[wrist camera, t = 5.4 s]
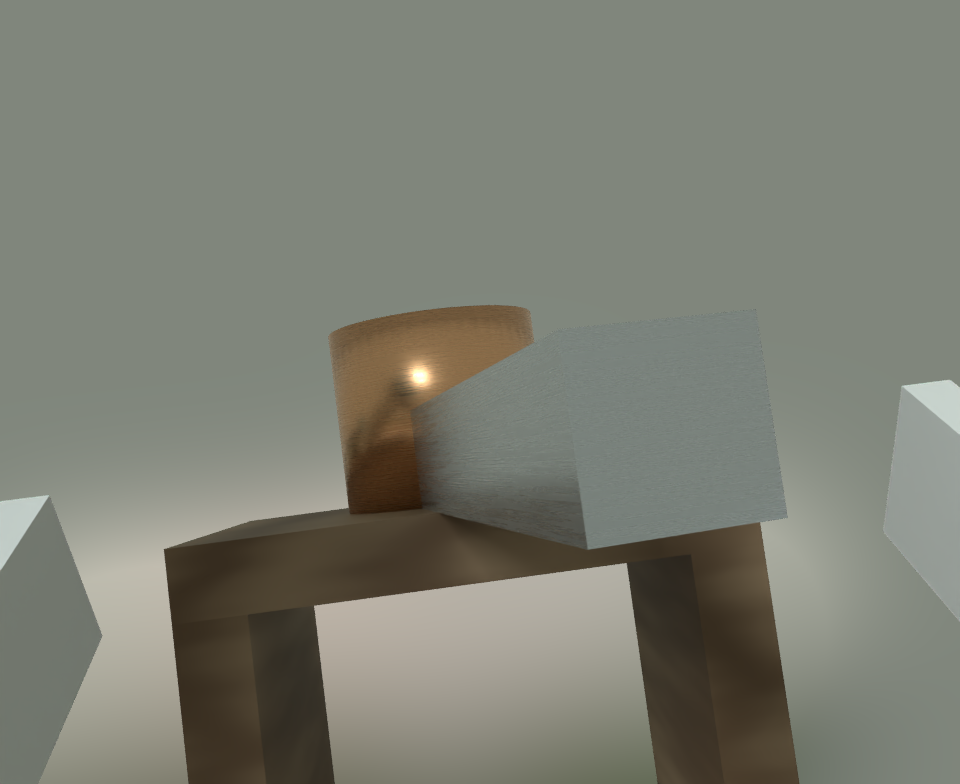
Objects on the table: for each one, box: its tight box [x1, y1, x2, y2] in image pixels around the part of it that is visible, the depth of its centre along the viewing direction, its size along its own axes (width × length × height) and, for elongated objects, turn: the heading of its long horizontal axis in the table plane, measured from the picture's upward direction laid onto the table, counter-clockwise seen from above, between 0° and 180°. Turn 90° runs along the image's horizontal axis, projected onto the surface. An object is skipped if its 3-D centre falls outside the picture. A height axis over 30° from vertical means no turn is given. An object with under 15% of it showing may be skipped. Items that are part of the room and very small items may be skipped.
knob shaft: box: [328, 305, 788, 550], centre depth 23 cm, size 7×22×6 cm, turn 13°
